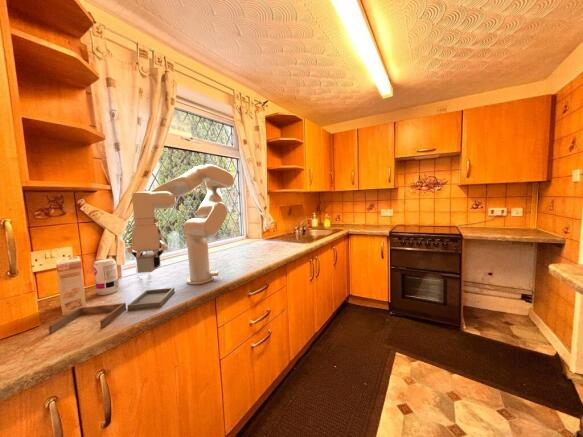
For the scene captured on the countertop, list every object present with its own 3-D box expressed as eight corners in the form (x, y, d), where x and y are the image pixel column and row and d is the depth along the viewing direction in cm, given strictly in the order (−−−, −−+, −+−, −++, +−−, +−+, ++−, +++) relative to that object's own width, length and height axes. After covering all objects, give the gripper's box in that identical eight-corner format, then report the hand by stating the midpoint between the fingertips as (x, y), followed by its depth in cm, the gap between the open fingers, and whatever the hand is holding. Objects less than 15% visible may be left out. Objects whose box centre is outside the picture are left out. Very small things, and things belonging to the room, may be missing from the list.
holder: (126, 309, 91) (125, 302, 91) (103, 327, 78) (102, 320, 77) (80, 313, 89) (80, 307, 89) (49, 333, 75) (48, 326, 75)
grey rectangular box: (160, 265, 102) (159, 251, 101) (151, 271, 93) (150, 256, 92) (147, 266, 101) (146, 252, 101) (137, 273, 92) (135, 257, 92)
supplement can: (94, 297, 105) (90, 263, 104) (99, 291, 112) (95, 260, 111) (117, 293, 109) (113, 260, 107) (120, 287, 116) (117, 257, 115)
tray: (174, 291, 107) (174, 287, 107) (160, 307, 91) (160, 302, 91) (146, 294, 105) (146, 290, 105) (127, 310, 90) (127, 305, 90)
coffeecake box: (87, 309, 92) (81, 260, 91) (61, 316, 87) (55, 264, 86) (84, 299, 103) (78, 255, 101) (61, 305, 98) (55, 258, 96)
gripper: (171, 220, 100) (174, 263, 102) (127, 223, 98) (131, 266, 99) (164, 222, 93) (168, 267, 94) (117, 224, 91) (121, 271, 92)
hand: (149, 266), depth 97 cm, fingers closed on grey rectangular box, 5 cm apart
